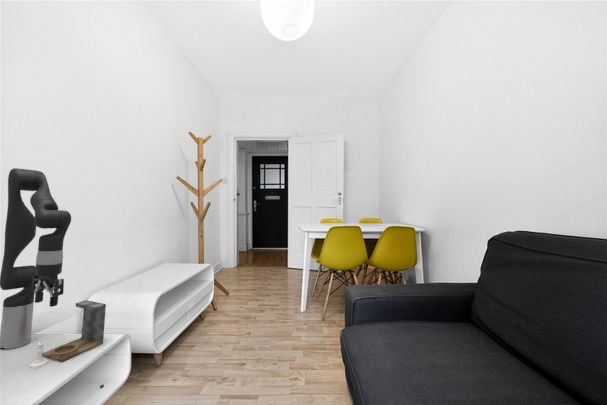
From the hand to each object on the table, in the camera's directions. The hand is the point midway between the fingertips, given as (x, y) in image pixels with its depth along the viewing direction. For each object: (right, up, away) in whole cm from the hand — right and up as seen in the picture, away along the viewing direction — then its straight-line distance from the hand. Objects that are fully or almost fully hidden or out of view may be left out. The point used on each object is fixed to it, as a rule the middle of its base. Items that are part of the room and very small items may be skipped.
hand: (46, 304), depth 104 cm
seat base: (+2, -23, +10) cm, 25 cm away
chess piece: (-2, -23, -1) cm, 23 cm away
